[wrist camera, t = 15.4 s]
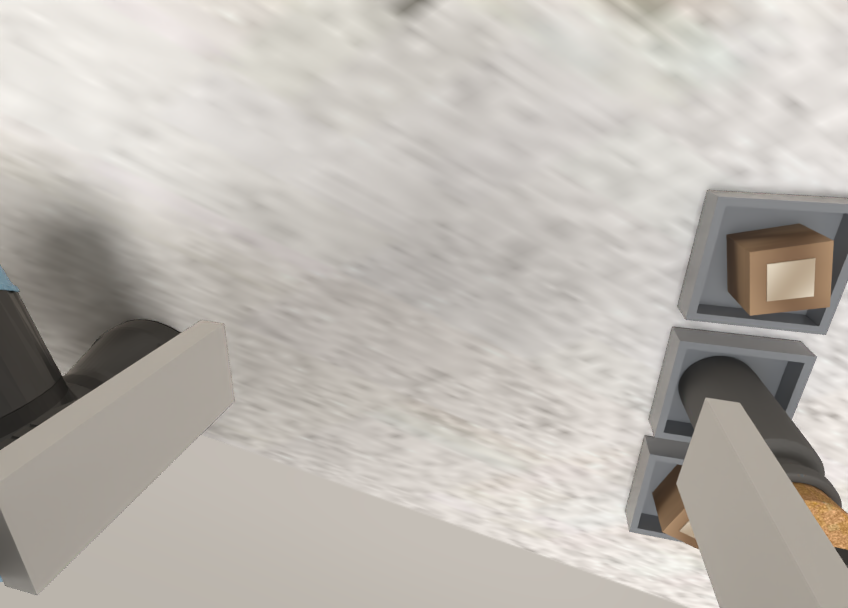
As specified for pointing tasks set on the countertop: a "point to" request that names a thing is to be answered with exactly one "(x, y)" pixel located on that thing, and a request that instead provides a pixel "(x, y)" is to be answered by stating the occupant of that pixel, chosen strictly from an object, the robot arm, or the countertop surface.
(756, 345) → the dish
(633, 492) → the dish
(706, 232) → the dish
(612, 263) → the countertop surface
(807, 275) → the cube
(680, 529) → the cube
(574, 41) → the countertop surface
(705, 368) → the bottle
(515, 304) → the countertop surface
